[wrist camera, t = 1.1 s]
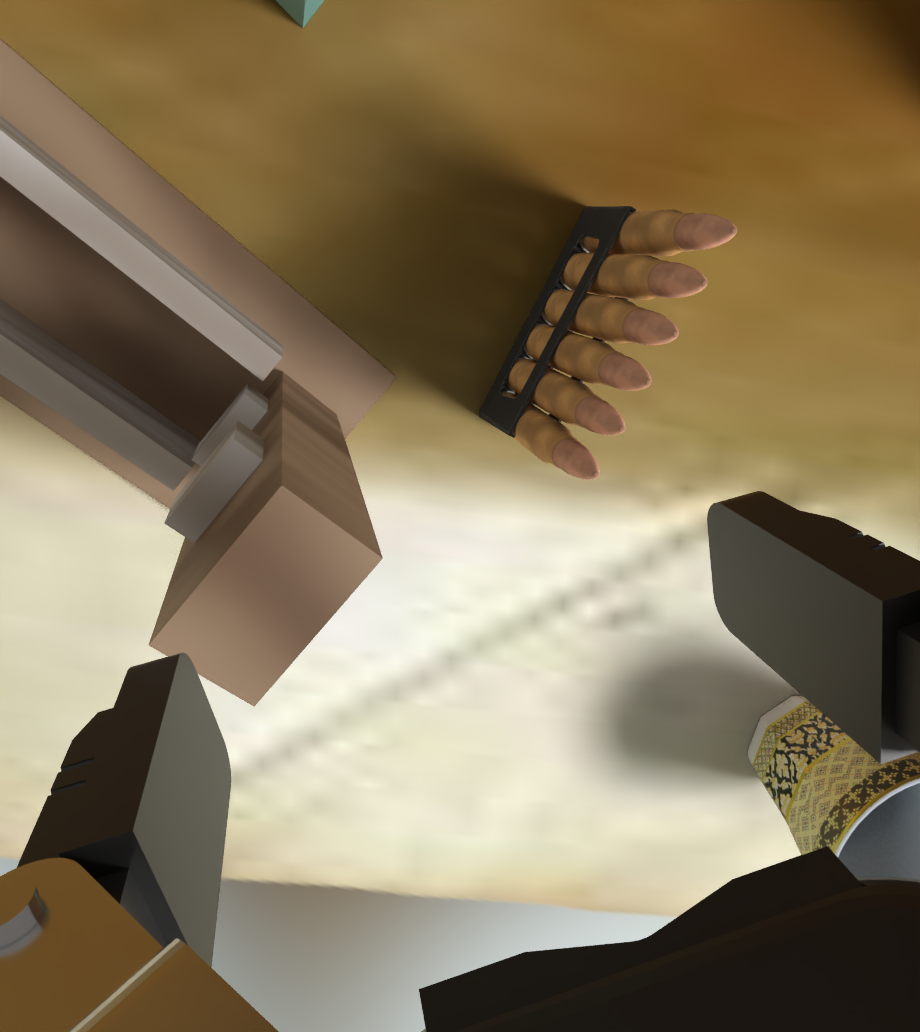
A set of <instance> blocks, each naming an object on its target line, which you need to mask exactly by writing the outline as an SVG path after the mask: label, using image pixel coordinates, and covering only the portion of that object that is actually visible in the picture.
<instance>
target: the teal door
mask: <svg viewBox="0 0 920 1032" xmlns="http://www.w3.org/2000/svg"><path fill="white" fill-rule="evenodd" d="M275 1H276V2H277V3H278V4H279V5H280V6H281V7H282V8H283V9H284V10H285V11H286V12H287V13H288V14H289V15H290V16H291V17H292V18H293V19H294V20H295V21H296V22H297V23H298V24H299V25H300V26H301V27H302V28H304V26H305V25H306V24H307V22H308V21H309V20H310V18H311V17H312V16H313V14H314V13H315V12H316V11H317V9H318V8H319V7H320V5H321V4H322V3H323V1H324V0H275Z"/></svg>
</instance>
